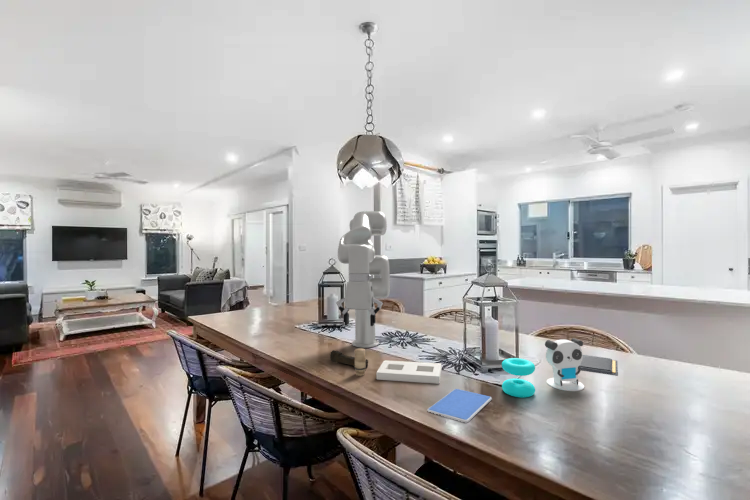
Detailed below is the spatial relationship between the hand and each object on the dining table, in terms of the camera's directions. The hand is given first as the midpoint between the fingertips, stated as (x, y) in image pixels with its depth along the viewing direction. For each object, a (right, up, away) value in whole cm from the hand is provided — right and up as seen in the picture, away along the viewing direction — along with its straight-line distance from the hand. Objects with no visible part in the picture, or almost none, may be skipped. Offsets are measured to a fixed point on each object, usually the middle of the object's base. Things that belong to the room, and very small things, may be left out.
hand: (359, 324), depth 139 cm
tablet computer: (+31, -19, -27) cm, 45 cm away
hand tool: (-6, -19, +12) cm, 23 cm away
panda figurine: (+69, -18, -12) cm, 72 cm away
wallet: (+91, -18, +8) cm, 93 cm away
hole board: (+18, -18, 0) cm, 26 cm away
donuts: (+51, -18, -18) cm, 57 cm away
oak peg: (0, -18, +1) cm, 18 cm away
